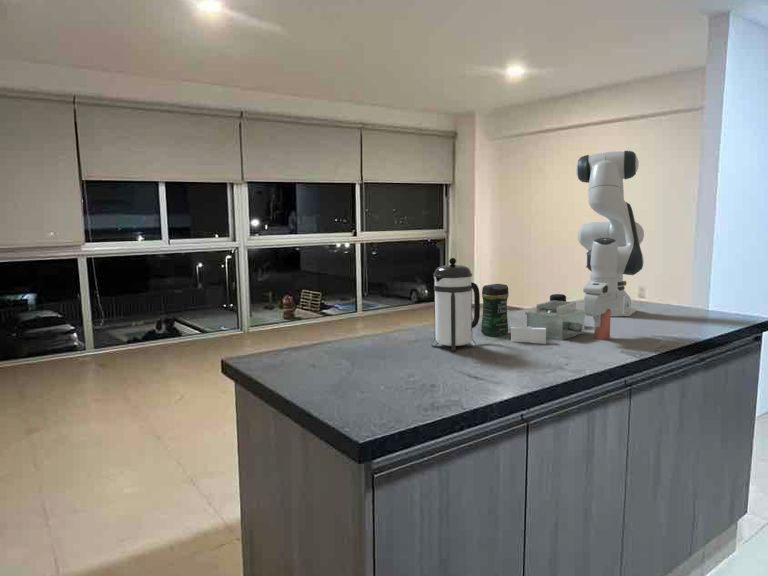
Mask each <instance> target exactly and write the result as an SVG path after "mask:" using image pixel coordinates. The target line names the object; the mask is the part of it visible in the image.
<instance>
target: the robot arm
mask: <svg viewBox="0 0 768 576" xmlns="http://www.w3.org/2000/svg"><path fill="white" fill-rule="evenodd" d="M575 166H576V167H575V174H576V176H577V178H578V180H579V181H580V182H581V183H586V184H587V183H588V190H587V191H588V193H587V196H588V204H589V206H590V208H591V209H592V210H593V212H595V213H597V214H598V215H600V216H602V217H605V218H606V219H608V220H609V221H593V222H588V223H584V224H582V225H581V226H580V228H579V229H578V231H577V240H578V242H579V244H580V245H581V246H582V247H583V248H585V249H586V250H587V252H586V266H585V267H586V268H587V270H589V271H590V275H589V281H588V282H587V284H585V285H584V286H583V291H582V292H583V293H584V297H583V310H584V312H585V316H587V317H588V316H589V317H592V318H593V321H594V328H595V327H600V326H602V322H601V320H600V317H601V314H603V313H605V312H606V310H607V309H610V310H611V317H610V319H611V318H612V317H631V316H632V315H633V314H635V313H636V312H637V308H635V307H632V298H631V297H630V295H629V294H628V293H627V292H626V290H625V289H626V288H625V286H627V280H624V275H627V276H629V275H630V276H634V275H636V274H638V273H639V272H640V271H642V270H643V267H644V263H645V260H644V254H643V251H642V249H641V244H642V242H643V241H644V237H645V232H644V228H643V227H642V225H641V224H640V223H638V222H637V221H636V220H635V215H634V212H633V208H632V205H631V204H630V203H629V202H627V201H625V195H624V193H625V192H624V189H625V188H624V180H629V179H632V178H633V177H635V176H636V175H637V174H636V173H637V172H638V169H639V166H640V165H639V158H638V157H637V155H636V153H635V152H634V151H632V150H624V151H606V152H601V153H594V154H591V155H589V154H586V155H582V156H580V157H579V159H578V160H577V163H576V165H575Z"/></svg>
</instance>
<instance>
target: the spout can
mask: <svg viewBox="0 0 768 576" xmlns="http://www.w3.org/2000/svg"><path fill="white" fill-rule="evenodd" d="M610 317H611V318H612V316H611V310H610V309H607V310H606V312H605V313H603V314H601V317H600V320H601V322H602V326H600V327H595V326H594V337H593V338H594V339H595V340H601V341H607V340H610V339H611V318H610Z"/></svg>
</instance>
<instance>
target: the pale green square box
mask: <svg viewBox="0 0 768 576" xmlns="http://www.w3.org/2000/svg"><path fill="white" fill-rule="evenodd" d="M576 307H577V304H576V302H571V301H566V302H565V301H555V300H553V301H550V300H549V301H546V302H542V303H538V304H536V309H533V310H529V311H526V312H524V313H525V315H526V327H532V328H546V339H547V338H549V339H554V340H559V341H560V340H561V341H563V340H565V339H566V340H567V339H569V338H572V337H575V336H577V335H580V334H583V333H585V316H586V314H585V312H584V309H579V308H578V309H577V308H576Z"/></svg>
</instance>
